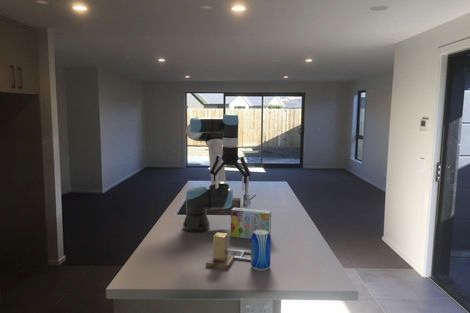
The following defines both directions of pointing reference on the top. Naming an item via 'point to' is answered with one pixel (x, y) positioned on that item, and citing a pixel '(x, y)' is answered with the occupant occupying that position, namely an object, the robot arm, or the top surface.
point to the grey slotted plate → (238, 254)
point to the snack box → (249, 222)
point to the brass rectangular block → (220, 246)
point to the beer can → (260, 250)
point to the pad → (220, 262)
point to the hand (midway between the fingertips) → (230, 189)
